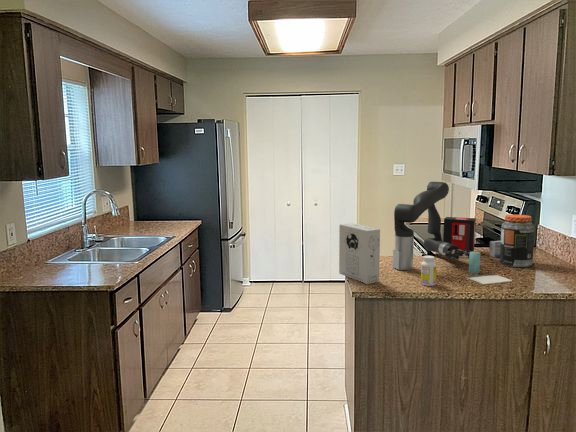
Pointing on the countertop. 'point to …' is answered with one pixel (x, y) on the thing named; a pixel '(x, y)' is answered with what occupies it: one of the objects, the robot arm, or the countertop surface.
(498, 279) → the mat
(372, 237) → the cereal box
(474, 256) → the teal wooden pin
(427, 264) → the supplement bottle
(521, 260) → the supplement tub
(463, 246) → the cleaning product box
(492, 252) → the medicine box
